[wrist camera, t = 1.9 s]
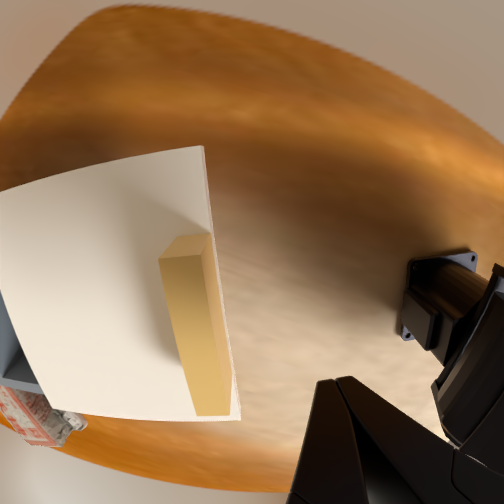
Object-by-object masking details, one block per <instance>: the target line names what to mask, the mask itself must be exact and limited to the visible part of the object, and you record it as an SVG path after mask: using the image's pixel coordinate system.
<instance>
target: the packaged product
mask: <svg viewBox="0 0 504 504" xmlns="http://www.w3.org/2000/svg"><path fill="white" fill-rule="evenodd" d="M0 411H1V412H2V414H3V415H4V416H5V418H6V419H7V420H8V421H9V423H10V424H11V425H12V426H13V428H14V429H15V430H16V431H17V432H18V434H19V435H20V436H21V437H22V438H23V439H24V440H25V441H26V442H28V443H29V444H31V445H41V446H47V447H62V446H63V445H64V443H65V442H66V438H67V437H68V436H69V435H70V433H71V431H72V430H79V431H82V430H83V429H84V428H85V427H86V426H87V424H88V422H87V421H86V420H85V418H84V417H83V416H82V415H81V413H76V412H70V411H64V410H58V409H53V408H52V407H51V405H50V403H49V401H48V399H47V398H46V396H45V395H44V394H38V393H33V392H28V391H23V390H19V389H14V388H10V387H5V386H1V385H0Z"/></svg>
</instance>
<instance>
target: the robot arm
mask: <svg viewBox="0 0 504 504" xmlns="http://www.w3.org/2000/svg"><path fill="white" fill-rule="evenodd" d="M471 257H472V259H471ZM415 264H417V265H416V267H415V268H414V269H413V266H414V265H415ZM476 265H477V254H476V253H475V252H473V251H465V252H458V253H451V254H443V255H436V256H428V257H421V258H414V259H411V260H410V261H409V263H408V268H407V281H406V289H405V291H404V296H403V305H402V314H401V322H402V326H401V333H400V336H401V338H402V339H403V340H404V341H409V340H414V339H416V340H417V341H418V342H419V344H420V345H421V346H422V347H423V349H425V350H426V351H431V352H432V353H433V354H434V355H435V357H436V358H437V359H438V360H439V361H440V363H441V364H442V365H443V366H444V369H443V371H442V372H441V374H440V375H439V377H438V378H437V379H435V381H434V382H433V384H432V385H431V389H432V393H433V396H434V400H435V404H436V407H437V411H438V415H439V419H440V423H441V426H442V429H443V431H444V433H445V436H446V437H447V438H449V440H450V441H451V442H453V443H454V444H455V445H456V446H458V447H459V450H458V449H454V447H453V446H452V445H450V444H449V443H447V442H446V441H444V440H443V439H441V438H440V437H438V436H437V435H435V434H434V433H432V432H431V431H429V430H428V429H426V428H425V427H423V426H422V425H421V424H419V423H418V422H416V421H415V420H413V419H412V418H410V417H409V416H407V415H406V414H405V413H403V412H402V411H400V410H399V409H397V408H396V407H395V406H393V405H392V404H390V403H389V402H388V401H386V400H385V399H383V398H382V397H381V396H379V395H378V394H376V393H375V392H374V391H372V390H371V389H369V388H368V387H367V386H365V385H364V384H362V383H361V382H360V381H358V380H357V379H356V378H354V377H353V376H345V377H339V378H336V379H335V380H333V379H326V380H320V381H318V382H317V383H316V388H315V393H314V397H313V402H312V407H311V411H310V415H309V420H308V424H307V428H306V432H305V437H304V441H303V445H302V449H301V452H300V456H299V460H298V464H297V467H296V471H295V475H294V478H293V482H292V485H291V489H290V493H289V495H288V498H287V502H286V504H504V267H502V266H500V265H498V264H496V263H495V264H494V267H493V269H492V272H493V273H492V275H491V278H490V280H489V281H488V280H486V279H484V278H483V277H481V276H480V275H478V274H476V273H475V272H476ZM407 333H408V334H407ZM406 334H407V335H406ZM405 335H406V336H405ZM467 455H469V456H471V457H473V458H475V459H477V460H478V461H480V462H481V463H483V464H484V465H485V466H484V465H482V464H481V463H479V462H477V461H476V460H474V459H472V458H470V457H469V456H467ZM486 466H487V467H486Z"/></svg>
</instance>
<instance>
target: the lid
mask: <svg viewBox="0 0 504 504" xmlns="http://www.w3.org/2000/svg"><path fill="white" fill-rule="evenodd" d="M0 291H1V294H2V297H3V300H4V303H5V306H6V309H7V311H8V314H9V317H10V320H11V322H12V325H13V327H14V330H15V332H16V335H17V337H18V340H19V342H20V344H21V347H22V349H23V351H24V354H25V356H26V358H27V360H28V362H29V364H30V367H31V369H32V371H33V373H34V375H35V377H36V379H37V381H38V383H39V385H40V387H41V388H42V390H43V392H44V394H45V396H46V398H47V399H48V401H49V403H50V405H51V407H52V408H53V409H58V410H64V411H70V412H76V413H83V414H90V415H97V416H106V417H115V418H126V419H139V420H156V421H231V420H241V406H240V400H239V395H238V389H237V383H236V377H235V371H234V365H233V359H232V353H231V347H230V341H229V335H228V328H227V322H226V315H225V309H224V302H223V295H222V288H221V281H220V274H219V267H218V260H217V252H216V245H215V237H214V230H213V222H212V214H211V206H210V197H209V189H208V180H207V171H206V162H205V153H204V146H201V145H199V146H192V147H186V148H179V149H173V150H167V151H161V152H155V153H149V154H144V155H139V156H134V157H129V158H124V159H119V160H114V161H110V162H105V163H101V164H96V165H92V166H88V167H84V168H80V169H76V170H72V171H68V172H64V173H61V174H57V175H53V176H50V177H46V178H43V179H39V180H36V181H33V182H29V183H26V184H23V185H20V186H17V187H14V188H11V189H8V190H5V191H2V192H0Z"/></svg>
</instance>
